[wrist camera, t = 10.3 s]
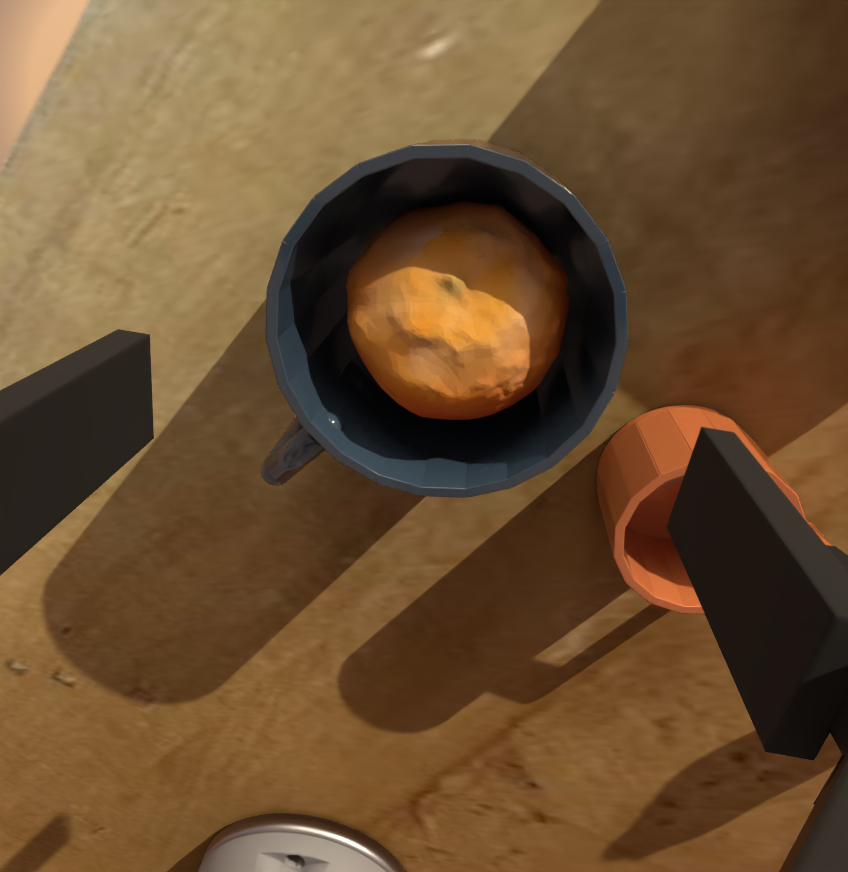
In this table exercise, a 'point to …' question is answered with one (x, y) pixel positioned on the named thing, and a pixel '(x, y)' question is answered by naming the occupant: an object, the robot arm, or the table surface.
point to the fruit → (457, 310)
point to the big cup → (357, 389)
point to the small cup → (660, 497)
